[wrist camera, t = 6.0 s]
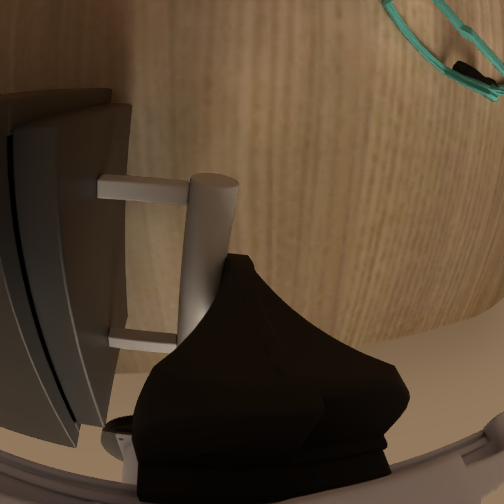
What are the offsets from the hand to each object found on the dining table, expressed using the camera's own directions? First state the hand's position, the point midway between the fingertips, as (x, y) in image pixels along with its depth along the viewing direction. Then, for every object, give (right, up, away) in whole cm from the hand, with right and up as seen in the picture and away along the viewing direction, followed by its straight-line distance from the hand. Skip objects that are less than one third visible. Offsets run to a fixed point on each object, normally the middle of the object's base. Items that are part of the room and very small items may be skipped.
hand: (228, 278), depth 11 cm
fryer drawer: (-9, +3, +1) cm, 9 cm away
